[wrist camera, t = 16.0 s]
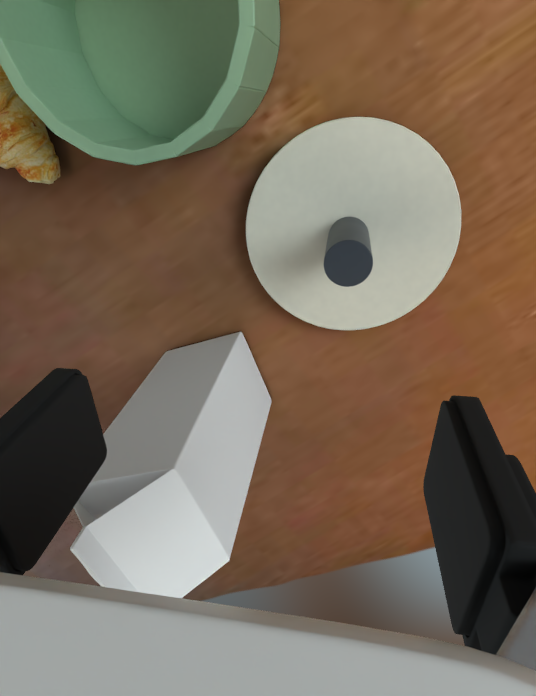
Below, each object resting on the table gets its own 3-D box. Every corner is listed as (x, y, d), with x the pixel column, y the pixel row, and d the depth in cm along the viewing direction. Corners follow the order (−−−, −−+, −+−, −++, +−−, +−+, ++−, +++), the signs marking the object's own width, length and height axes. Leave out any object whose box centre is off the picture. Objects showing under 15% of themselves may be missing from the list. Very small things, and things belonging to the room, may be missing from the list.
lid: (253, 318, 33) (232, 363, 27) (244, 118, 26) (214, 121, 20) (436, 328, 30) (456, 379, 25) (479, 113, 24) (520, 115, 18)
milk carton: (242, 329, 33) (139, 540, 17) (272, 400, 36) (209, 638, 20) (166, 349, 35) (10, 554, 19) (200, 414, 38) (91, 640, 22)
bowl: (96, 152, 28) (23, 165, 22) (42, -114, 22) (-83, -205, 16) (281, 151, 26) (259, 165, 20) (279, -142, 20) (246, -259, 14)
